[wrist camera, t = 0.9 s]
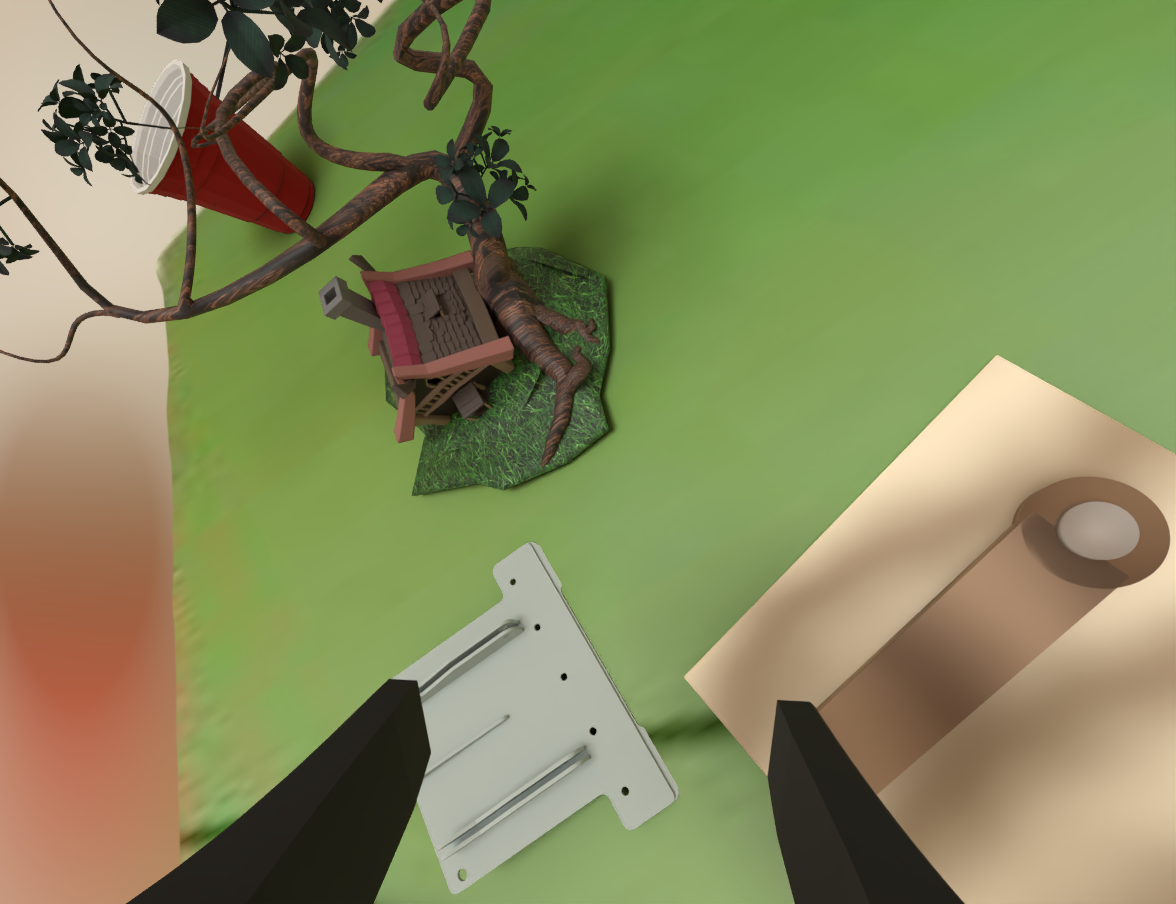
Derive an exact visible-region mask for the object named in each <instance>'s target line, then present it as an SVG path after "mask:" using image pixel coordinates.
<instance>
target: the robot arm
mask: <svg viewBox="0 0 1176 904" xmlns="http://www.w3.org/2000/svg"><path fill="white" fill-rule="evenodd" d="M430 755H431V749H430V743H429V738H428V733H427V728H426V723H425V717H424V712H423V707H422V702H421V697H420V691H419V686H418V681H417V680H401V679H389V680H388V681H387V682H385V683H384V684H383V685H382V686H381V687H380V688H379V689H378V690H377V691H376V692H375V693H374V694H373V695H372V696H371V697H370V698H369V699H368V700H367V701H366V702H365V703H364V704H363V705H361V706H360V707H359V708H358V709H357V710H356V711H355V712H354V713H353V714H352V715H351V716H350V717H349V718H348V719H347V720H346V721H345V722H344V723H343V724H342V725H341V726H340V727H339V728H338V729H337V730H336V731H335V732H334V733H333V734H332V735H331V736H330V737H329V738H328V739H326V740H325V741H324V742H323V743H322V744H321V745H320V746H319V747H318V748H317V749H316V750H315V751H314V752H313V753H312V754H310V755H309V756H308V757H307V758H306V759H305V760H304V761H303V762H302V763H301V764H300V765H299V766H298V767H297V768H296V769H294V770H293V771H292V772H291V773H290V774H289V775H288V776H287V777H286V778H285V779H283V780H282V781H281V782H280V783H279V784H278V785H277V786H275V787H274V788H273V789H272V790H271V791H270V792H269V793H267V794H266V795H265V796H264V797H263V798H262V799H261V800H259V801H258V802H257V803H256V804H255V805H254V806H253V807H251V808H250V809H249V810H248V811H247V812H246V813H245V814H243V815H242V816H241V817H240V818H239V819H237V820H236V821H235V822H234V823H233V824H231V825H230V826H229V827H228V828H227V829H225V830H224V831H223V832H222V833H220V834H219V835H218V836H217V837H215V838H214V839H213V840H212V841H210V842H209V843H208V844H207V845H205V846H204V847H203V848H201V849H200V850H199V851H198V852H196V853H195V854H194V855H192V856H191V857H190V858H188V859H187V860H186V861H185V862H183V863H182V864H181V865H180V866H178V867H177V868H175V869H174V870H173V871H171V872H170V873H169V874H167V875H166V876H165V877H163V878H162V879H160V880H159V881H158V882H156V883H155V884H153V885H152V886H150V887H149V888H148V889H146V890H145V891H143V892H142V893H141V894H139V895H138V896H136V897H135V898H134V899H132V900H131V901H129V902H128V903H126V904H373V903H374V901H375V899H376V896H377V894H378V892H379V889H380V887H381V885H382V882H383V880H384V878H385V875H386V873H387V871H388V868H389V866H390V864H391V862H392V859H393V857H394V855H395V852H396V850H397V848H398V845H399V843H400V840H401V838H402V836H403V833H404V831H405V829H406V826H407V824H408V822H409V819H410V817H411V814H412V812H413V810H414V807H415V804H416V801H417V798H418V795H419V792H420V788H421V785H422V782H423V779H424V775H425V772H426V769H427V765H428V762H429V759H430ZM768 782H769V788H770V795H771V801H772V807H773V813H774V819H775V825H776V831H777V837H778V840H779V844H780V848H781V852H782V856H783V860H784V864H785V868H786V871H787V875H788V879H789V883H790V887H791V890H792V894H793V898H794V902H795V904H965V903H964V902H963V901H962V900H961V899H960V898H959V896H958V895H957V894H956V893H955V892H954V891H953V889H952V888H951V887H950V886H949V885H948V884H947V882H946V881H945V880H944V879H943V878H942V877H941V875H940V874H939V873H938V872H937V870H936V869H935V868H934V867H933V866H932V864H931V863H930V862H929V861H928V860H927V858H926V857H925V856H924V855H923V854H922V852H921V851H920V850H919V849H918V847H917V846H916V845H915V844H914V843H913V841H912V840H911V839H910V837H909V836H908V835H907V834H906V832H905V831H904V830H903V829H902V827H901V826H900V825H899V824H898V822H897V821H896V820H895V818H894V817H893V816H892V814H891V813H890V812H889V810H888V809H887V808H886V807H885V805H884V804H883V803H882V801H881V800H880V799H879V797H878V796H877V795H876V793H875V792H874V791H873V789H872V788H871V787H870V785H869V784H868V783H867V781H866V780H865V779H864V777H863V776H862V774H861V773H860V772H859V770H858V769H857V767H856V766H855V765H854V763H853V762H852V760H851V759H850V758H849V756H848V755H847V753H846V752H845V751H844V749H843V748H842V746H841V745H840V743H839V742H838V740H837V739H836V737H835V736H834V734H833V733H832V731H831V730H830V729H829V727H828V726H827V724H826V722H825V721H824V719H823V718H822V716H821V715H820V713H819V712H818V710H817V709H816V707H815V706H814V705H813V704H812V703H811V702H807V701H788V700H777V705H776V713H775V721H774V729H773V737H772V744H771V752H770V760H769V768H768Z"/></svg>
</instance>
